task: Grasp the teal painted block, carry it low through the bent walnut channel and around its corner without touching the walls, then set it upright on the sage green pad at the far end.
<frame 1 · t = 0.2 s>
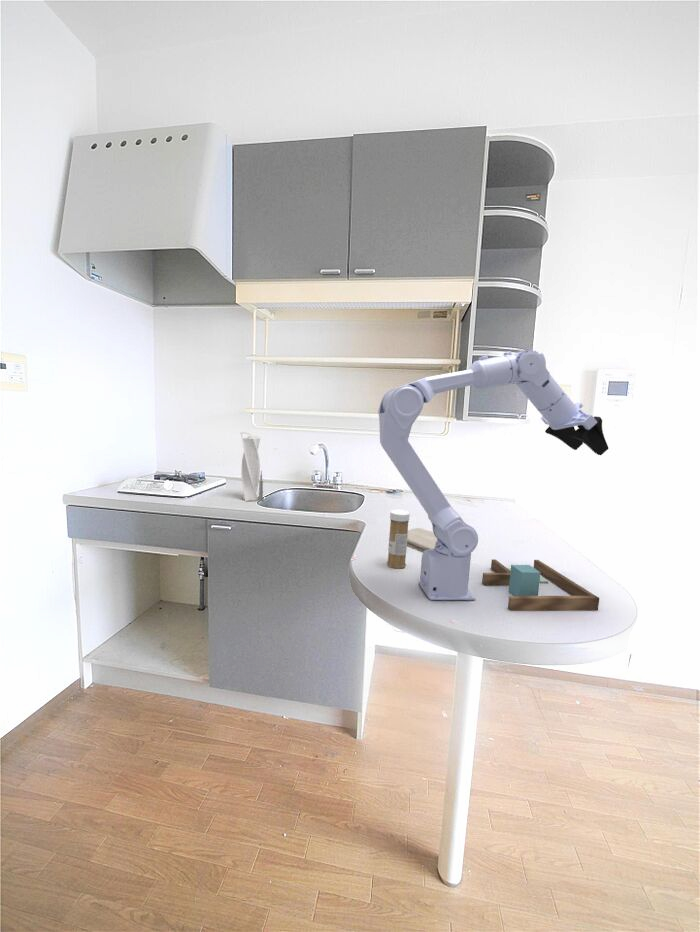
hand: (590, 449, 77), 31 cm above the table, tool tilted 45°, fingers open, 7 cm apart
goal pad: (523, 576, 88), on the table
teal block: (522, 596, 78), on the table
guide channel: (525, 587, 82), on the table
sprinkles bottle: (396, 566, 91), on the table
skyscraper: (250, 500, 155), on the table
washcloth: (424, 546, 108), on the table
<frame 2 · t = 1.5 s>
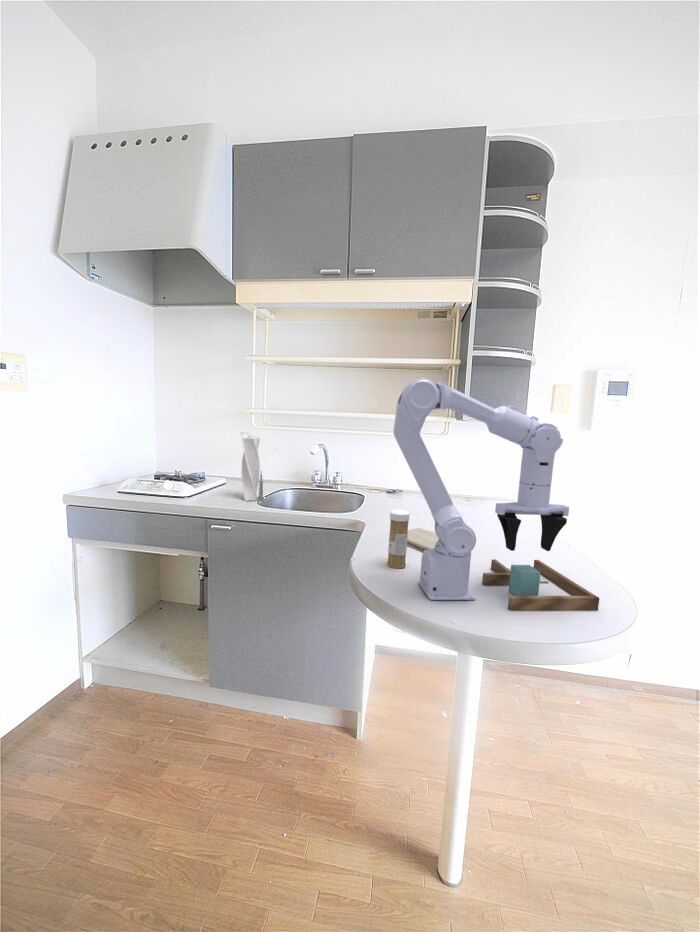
hand: (527, 549, 77), 10 cm above the table, tool pointing down, fingers open, 7 cm apart
nothing on the table moved.
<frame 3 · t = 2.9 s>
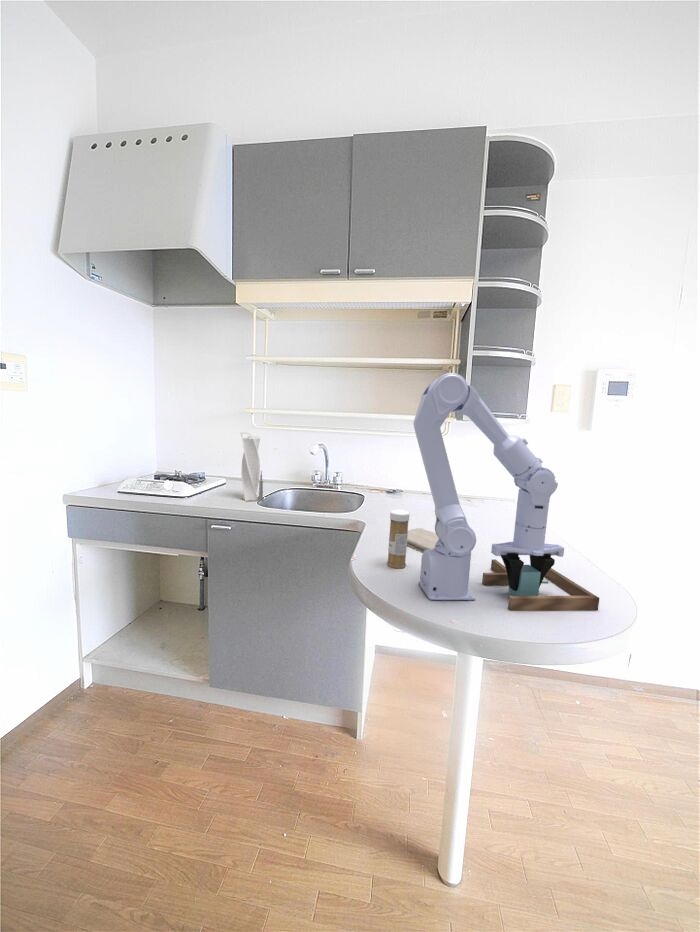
hand: (523, 588, 78), 2 cm above the table, tool pointing down, fingers closed on teal block, 4 cm apart
teal block: (522, 596, 78), on the table, touching gripper
everything else where it was.
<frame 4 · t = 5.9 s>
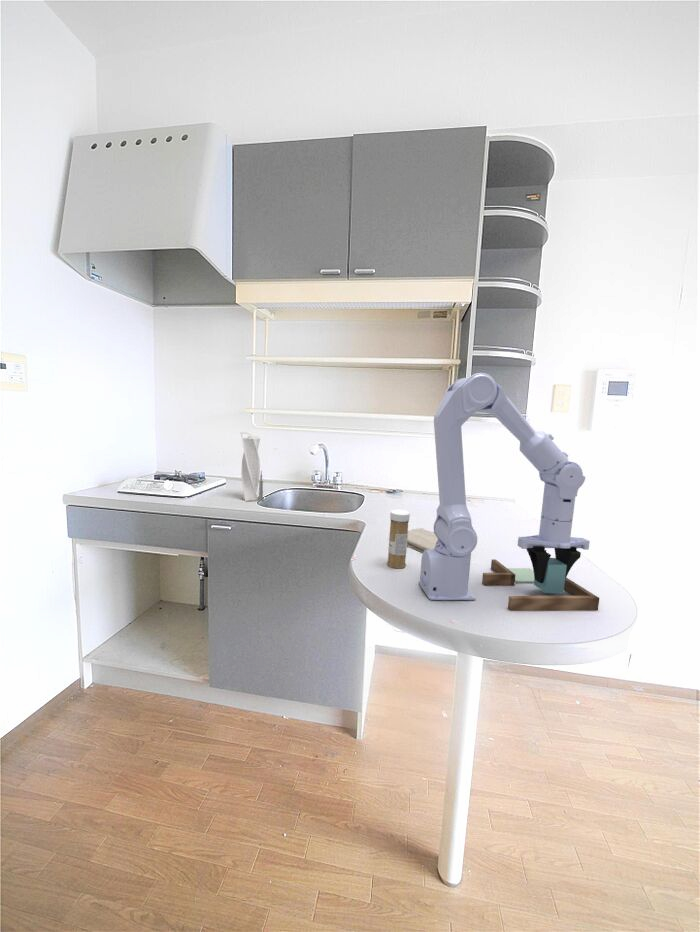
hand: (549, 581, 79), 3 cm above the table, tool pointing down, fingers closed on teal block, 4 cm apart
teal block: (548, 588, 79), point 1 cm above the table, touching gripper
everything else where it was.
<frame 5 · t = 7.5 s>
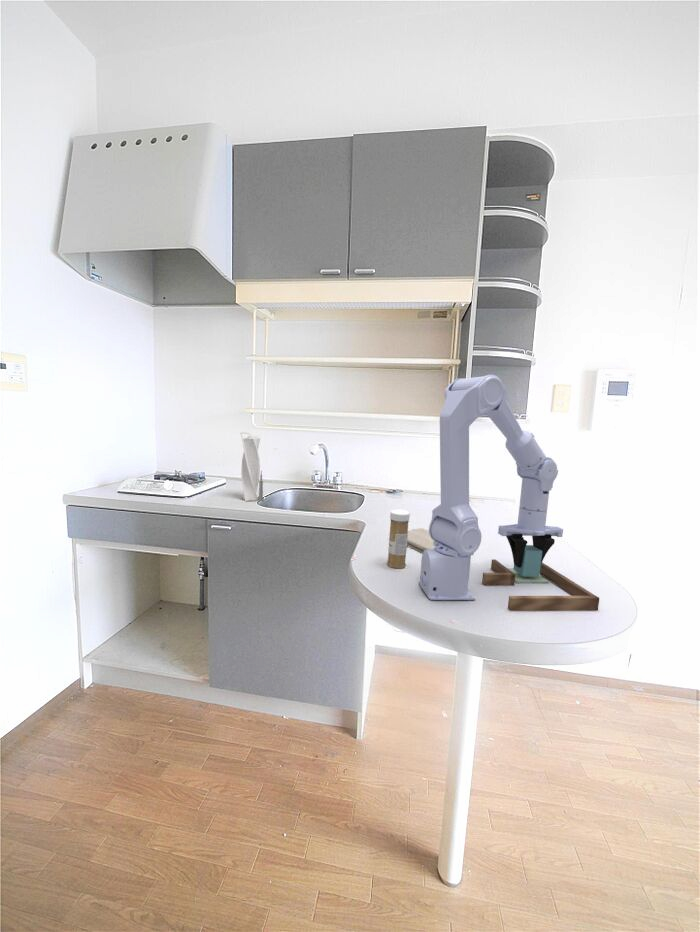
hand: (526, 565, 87), 3 cm above the table, tool pointing down, fingers closed on teal block, 4 cm apart
teal block: (526, 572, 87), point 1 cm above the table, touching gripper
everything else where it was.
when the fingers open (2 cm above the table, at t = 9.0 s): teal block stays where it is, resting on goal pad.
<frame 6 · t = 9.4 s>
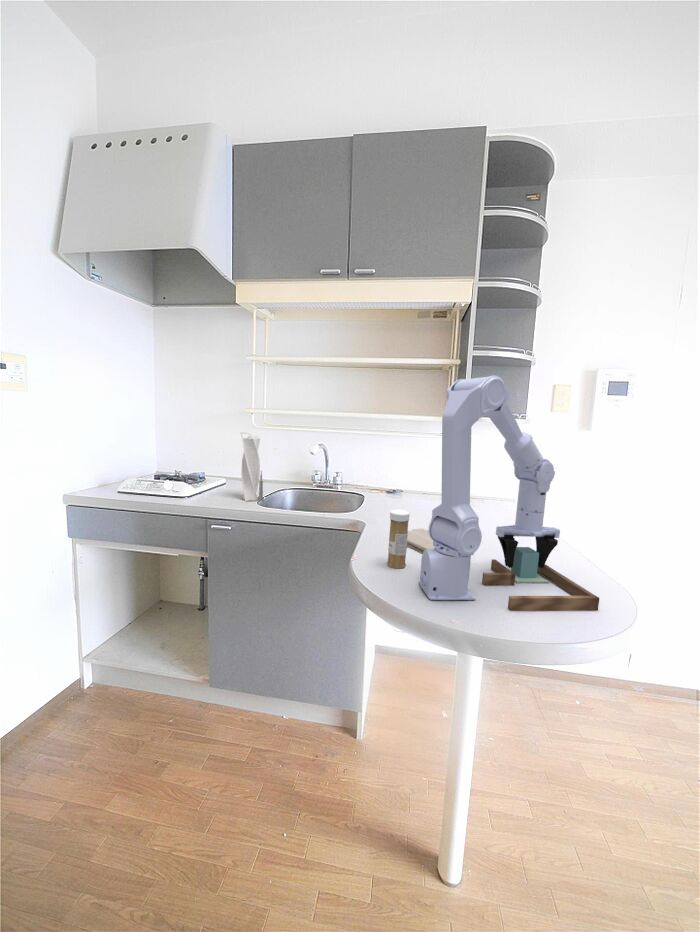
hand: (524, 566, 88), 2 cm above the table, tool pointing down, fingers open, 7 cm apart
teal block: (523, 574, 88), resting on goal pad
everything else where it was.
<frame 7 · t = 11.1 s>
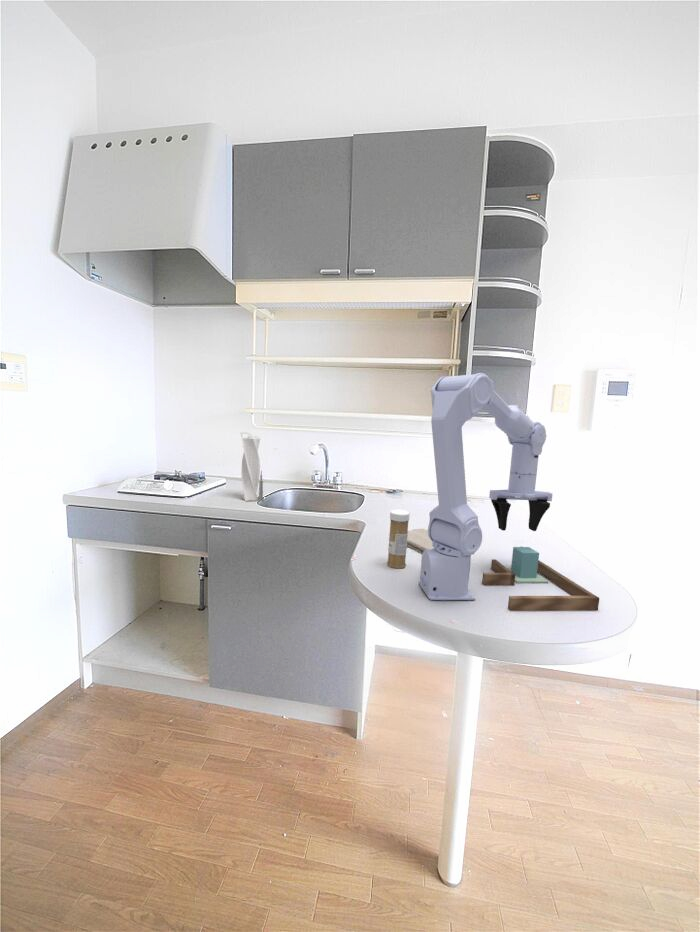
hand: (517, 529, 90), 10 cm above the table, tool pointing down, fingers open, 7 cm apart
nothing on the table moved.
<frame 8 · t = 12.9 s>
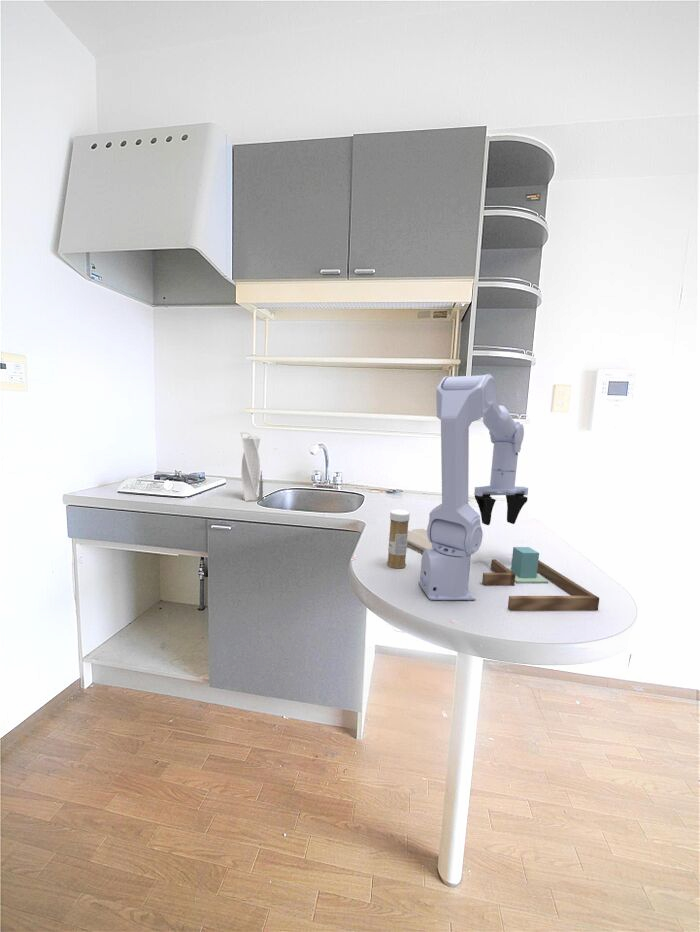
hand: (498, 523, 95), 10 cm above the table, tool pointing down, fingers open, 7 cm apart
nothing on the table moved.
at the end: teal block 0.0 cm from the target spot, resting on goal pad; teal block tilted 0°; teal block touching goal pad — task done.
